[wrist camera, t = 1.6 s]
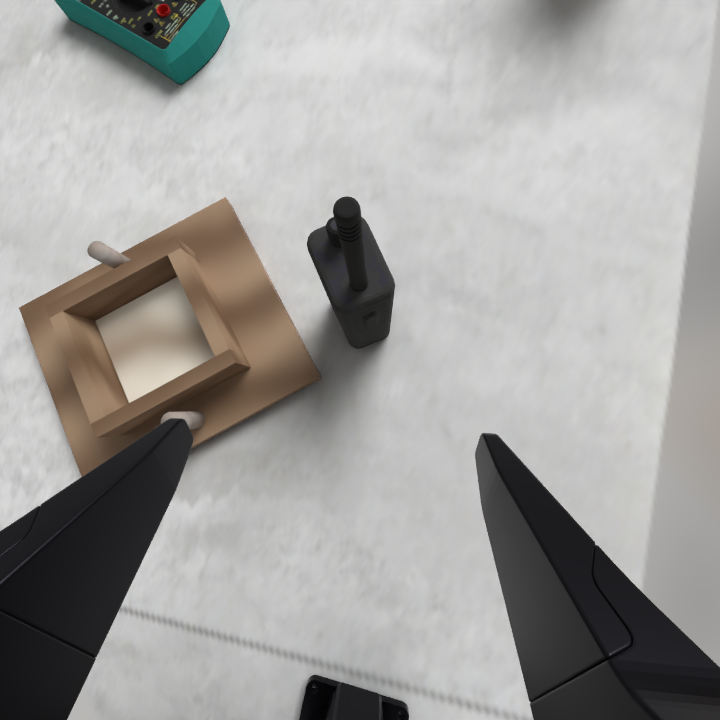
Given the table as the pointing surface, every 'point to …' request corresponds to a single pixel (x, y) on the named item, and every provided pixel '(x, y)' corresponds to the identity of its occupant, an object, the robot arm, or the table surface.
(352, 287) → the walkie-talkie
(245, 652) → the table surface
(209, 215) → the wooden frame board
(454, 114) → the table surface
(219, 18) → the digital multimeter
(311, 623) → the table surface
